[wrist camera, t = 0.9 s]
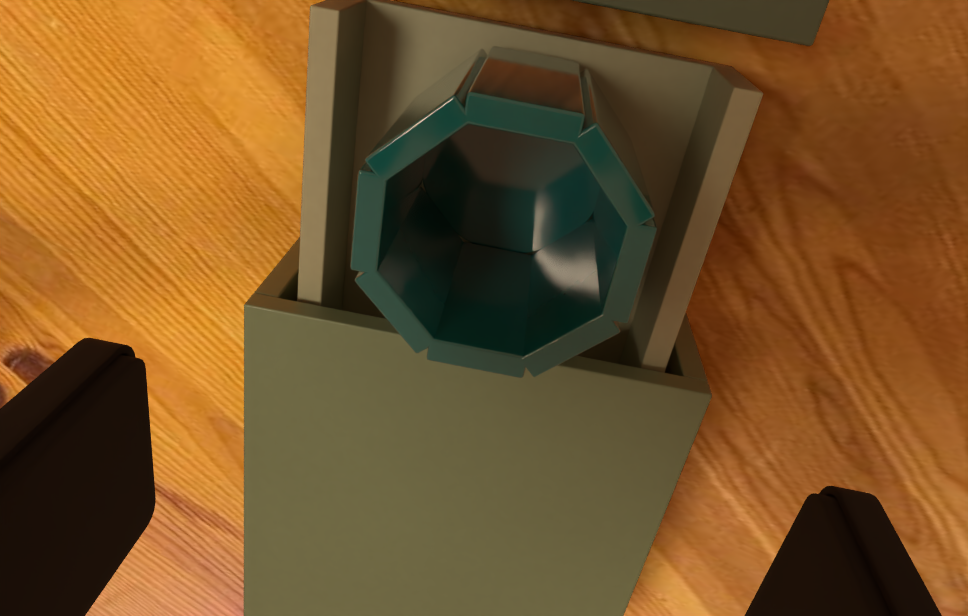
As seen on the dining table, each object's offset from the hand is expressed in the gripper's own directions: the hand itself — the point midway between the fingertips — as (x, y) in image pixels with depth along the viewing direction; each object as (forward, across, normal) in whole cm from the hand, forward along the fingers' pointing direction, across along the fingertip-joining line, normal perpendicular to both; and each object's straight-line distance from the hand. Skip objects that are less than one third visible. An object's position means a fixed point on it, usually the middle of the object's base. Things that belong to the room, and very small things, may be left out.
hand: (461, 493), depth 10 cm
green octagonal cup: (+15, 0, 0) cm, 15 cm away
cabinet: (+17, 0, +12) cm, 21 cm away
